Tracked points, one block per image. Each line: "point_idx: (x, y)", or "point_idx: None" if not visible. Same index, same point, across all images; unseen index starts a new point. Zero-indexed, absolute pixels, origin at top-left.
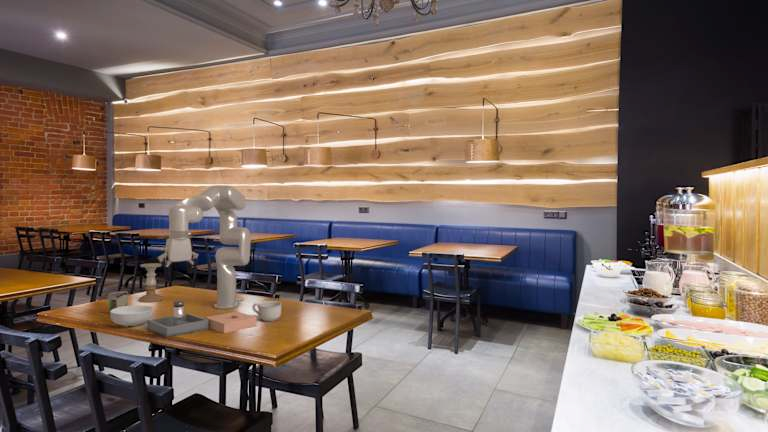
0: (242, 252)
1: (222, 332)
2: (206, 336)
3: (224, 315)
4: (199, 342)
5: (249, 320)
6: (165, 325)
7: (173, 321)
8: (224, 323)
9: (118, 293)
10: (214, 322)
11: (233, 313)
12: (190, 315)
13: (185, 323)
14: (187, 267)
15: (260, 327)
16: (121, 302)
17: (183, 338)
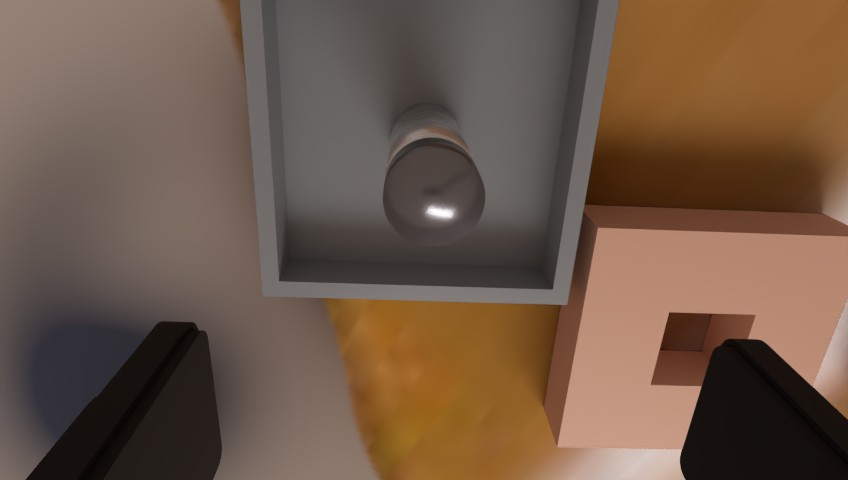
0: None
1: (546, 392)
2: (447, 389)
3: (720, 280)
4: (364, 446)
5: None
6: (380, 20)
7: (392, 134)
8: (564, 440)
9: None
10: (572, 342)
11: (803, 276)
12: (587, 63)
13: (513, 84)
14: (801, 461)
15: None
16: None
17: (342, 339)
